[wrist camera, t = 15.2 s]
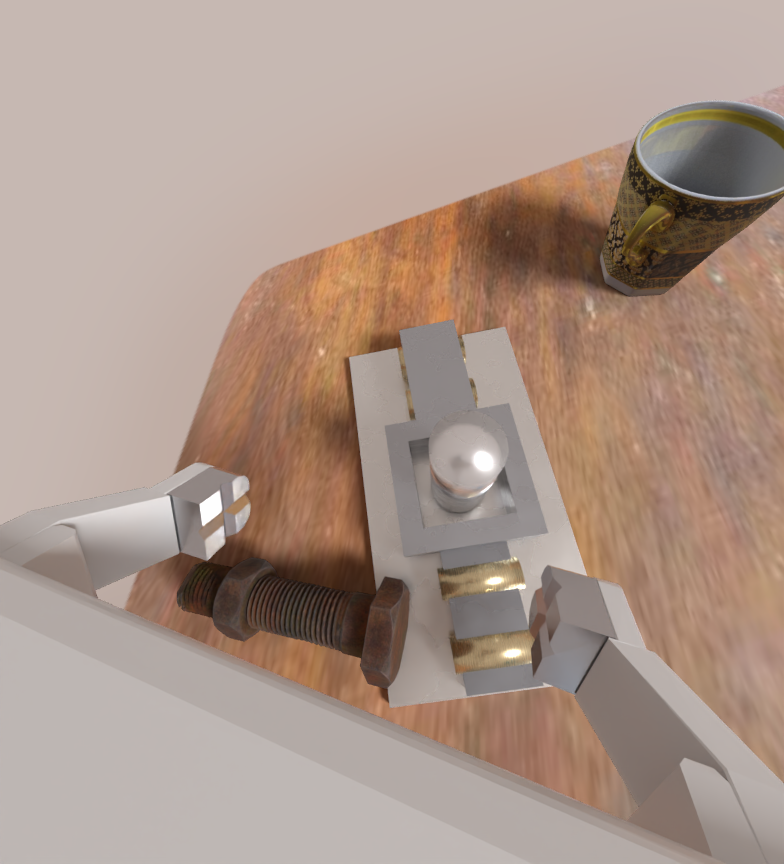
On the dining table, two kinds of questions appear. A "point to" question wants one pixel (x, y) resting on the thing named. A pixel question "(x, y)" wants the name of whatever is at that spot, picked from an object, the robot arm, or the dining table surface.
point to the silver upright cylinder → (465, 458)
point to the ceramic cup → (691, 191)
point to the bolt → (303, 612)
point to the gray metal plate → (457, 513)
